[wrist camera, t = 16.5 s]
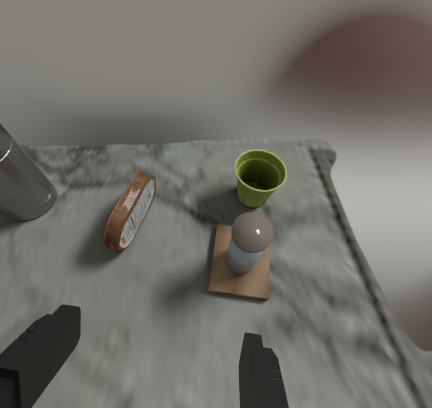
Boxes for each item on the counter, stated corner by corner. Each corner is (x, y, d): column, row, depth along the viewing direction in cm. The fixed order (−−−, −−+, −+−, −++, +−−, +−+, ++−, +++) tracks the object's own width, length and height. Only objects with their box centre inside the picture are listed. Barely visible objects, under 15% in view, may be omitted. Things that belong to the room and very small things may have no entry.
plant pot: (256, 170, 57) (265, 142, 49) (283, 202, 53) (297, 177, 45) (220, 187, 54) (224, 160, 46) (246, 223, 50) (255, 200, 43)
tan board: (207, 291, 43) (207, 289, 42) (216, 226, 49) (217, 224, 48) (267, 300, 43) (268, 298, 42) (269, 234, 49) (270, 231, 48)
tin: (146, 186, 53) (138, 160, 46) (161, 191, 53) (155, 165, 45) (110, 254, 45) (93, 235, 38) (126, 259, 45) (113, 241, 38)
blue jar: (222, 272, 44) (229, 246, 33) (226, 242, 47) (234, 209, 36) (255, 277, 44) (272, 253, 33) (257, 246, 46) (274, 215, 36)
